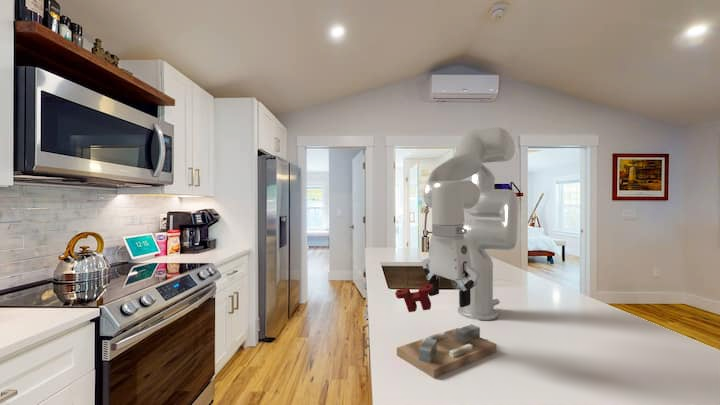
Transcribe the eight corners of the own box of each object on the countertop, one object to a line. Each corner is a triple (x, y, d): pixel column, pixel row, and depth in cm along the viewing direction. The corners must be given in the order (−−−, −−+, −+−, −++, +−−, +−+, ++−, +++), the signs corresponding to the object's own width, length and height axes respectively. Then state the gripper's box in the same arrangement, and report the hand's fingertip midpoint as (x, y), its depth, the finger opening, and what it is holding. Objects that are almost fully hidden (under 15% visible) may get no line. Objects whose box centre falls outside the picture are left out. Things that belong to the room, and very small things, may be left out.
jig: (457, 335, 88) (457, 318, 88) (496, 352, 78) (496, 333, 78) (396, 355, 76) (396, 337, 76) (433, 379, 66) (433, 357, 66)
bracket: (431, 289, 78) (394, 295, 82) (438, 309, 79) (401, 314, 83) (432, 283, 81) (396, 289, 85) (439, 303, 81) (403, 308, 85)
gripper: (488, 233, 72) (489, 307, 73) (432, 227, 87) (433, 288, 87) (467, 236, 68) (468, 314, 69) (412, 229, 83) (413, 294, 83)
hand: (448, 300), depth 78 cm, fingers open, 9 cm apart
